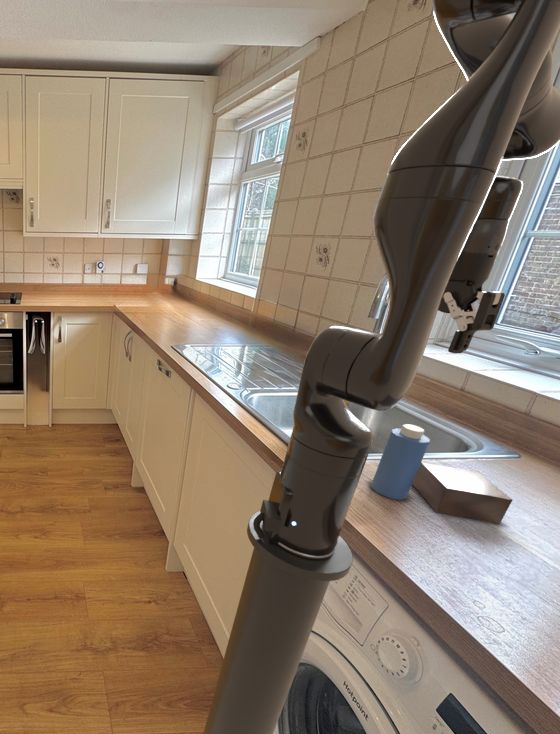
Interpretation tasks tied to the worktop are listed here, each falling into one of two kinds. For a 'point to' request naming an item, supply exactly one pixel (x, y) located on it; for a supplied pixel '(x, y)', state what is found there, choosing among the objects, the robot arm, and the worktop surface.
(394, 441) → the blue bottle
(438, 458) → the worktop surface
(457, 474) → the walnut block
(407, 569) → the worktop surface
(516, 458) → the worktop surface
